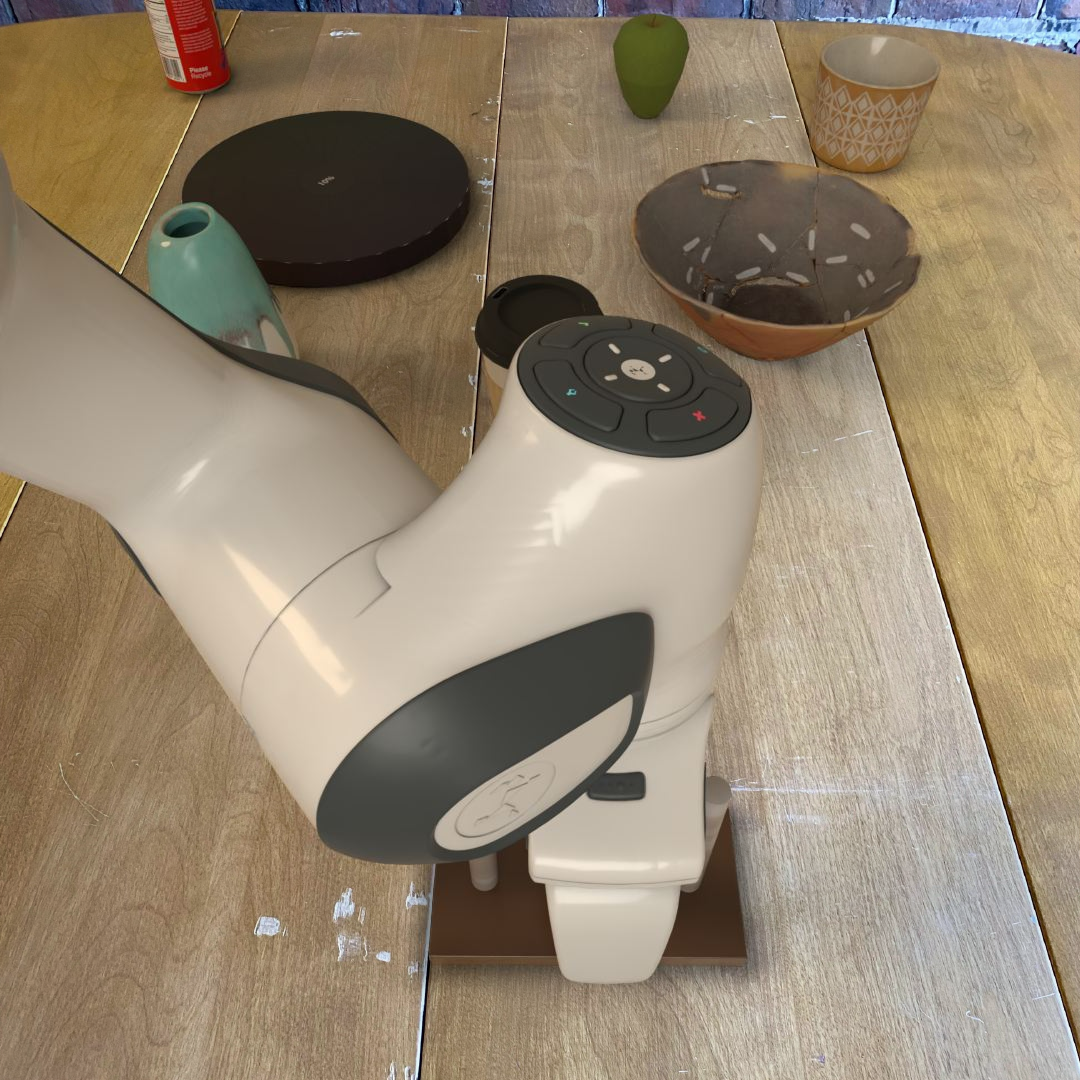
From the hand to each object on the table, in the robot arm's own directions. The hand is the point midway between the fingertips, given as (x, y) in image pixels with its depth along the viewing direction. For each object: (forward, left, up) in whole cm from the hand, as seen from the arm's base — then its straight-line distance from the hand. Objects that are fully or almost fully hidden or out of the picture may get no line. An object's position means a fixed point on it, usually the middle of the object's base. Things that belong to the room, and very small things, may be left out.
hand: (593, 808), depth 51 cm
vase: (-18, +49, -11) cm, 53 cm away
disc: (-7, +78, -11) cm, 79 cm away
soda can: (-20, +109, -11) cm, 111 cm away
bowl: (+30, +48, -11) cm, 58 cm away
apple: (+32, +89, -11) cm, 95 cm away
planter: (+53, +75, -11) cm, 92 cm away
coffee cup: (+6, +36, -11) cm, 38 cm away
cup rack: (0, 0, -11) cm, 11 cm away
